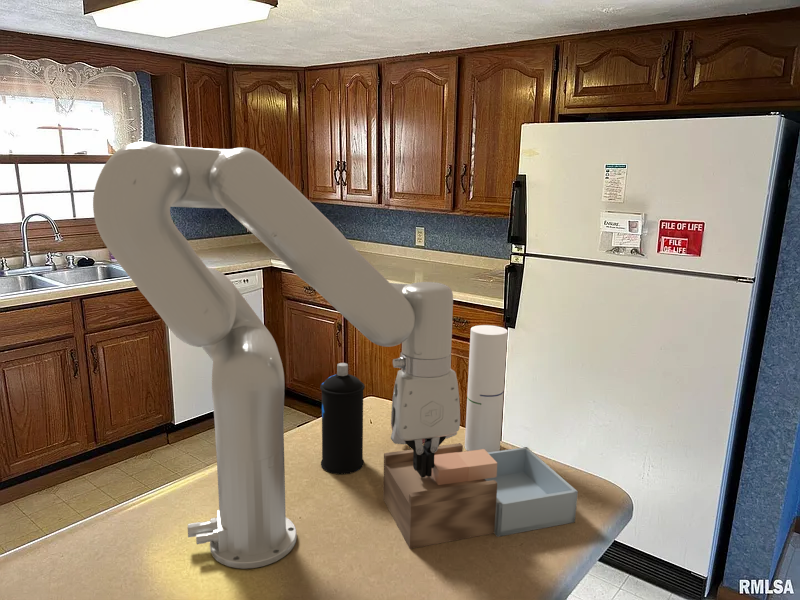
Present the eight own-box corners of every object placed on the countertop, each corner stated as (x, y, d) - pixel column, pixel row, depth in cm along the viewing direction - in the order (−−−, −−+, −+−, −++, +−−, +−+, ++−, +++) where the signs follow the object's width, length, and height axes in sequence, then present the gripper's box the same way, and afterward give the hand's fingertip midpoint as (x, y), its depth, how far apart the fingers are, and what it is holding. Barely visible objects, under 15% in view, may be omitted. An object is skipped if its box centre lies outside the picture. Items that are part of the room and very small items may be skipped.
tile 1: (438, 485, 92) (438, 470, 92) (427, 469, 97) (428, 455, 96) (467, 480, 94) (468, 466, 93) (455, 465, 98) (456, 452, 98)
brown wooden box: (409, 548, 88) (411, 496, 86) (383, 499, 101) (384, 453, 99) (494, 533, 92) (497, 483, 90) (458, 487, 105) (460, 443, 103)
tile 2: (467, 481, 94) (468, 466, 93) (456, 466, 98) (456, 452, 98) (496, 477, 95) (497, 463, 94) (483, 462, 100) (484, 449, 99)
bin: (497, 536, 91) (499, 504, 90) (456, 484, 106) (457, 456, 105) (574, 522, 95) (577, 491, 94) (524, 474, 110) (526, 447, 109)
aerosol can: (372, 461, 114) (373, 362, 109) (346, 479, 107) (346, 375, 102) (338, 449, 118) (338, 354, 114) (311, 466, 111) (310, 366, 107)
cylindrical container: (499, 457, 116) (507, 336, 111) (463, 453, 118) (469, 333, 112) (500, 441, 123) (507, 326, 118) (466, 438, 124) (472, 324, 119)
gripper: (386, 376, 84) (385, 492, 88) (481, 367, 89) (476, 477, 93) (372, 360, 91) (371, 468, 95) (461, 352, 95) (457, 455, 99)
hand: (423, 472), depth 94 cm, fingers closed
